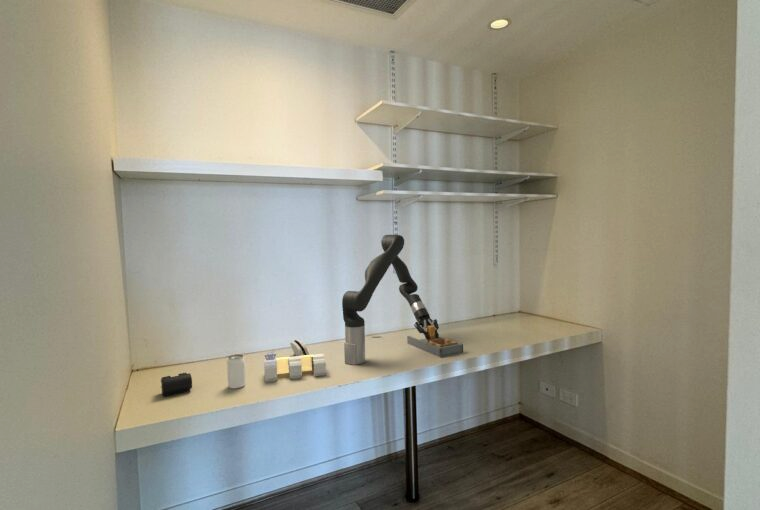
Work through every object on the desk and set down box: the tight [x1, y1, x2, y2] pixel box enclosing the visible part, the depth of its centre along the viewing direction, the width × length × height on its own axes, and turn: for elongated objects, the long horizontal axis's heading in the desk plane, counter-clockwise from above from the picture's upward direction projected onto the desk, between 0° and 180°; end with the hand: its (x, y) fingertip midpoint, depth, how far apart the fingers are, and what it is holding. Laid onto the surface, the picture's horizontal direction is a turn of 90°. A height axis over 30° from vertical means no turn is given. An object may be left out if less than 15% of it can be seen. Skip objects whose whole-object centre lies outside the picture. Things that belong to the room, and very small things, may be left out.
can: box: [226, 354, 246, 390], centre depth 156 cm, size 6×6×12 cm
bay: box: [406, 335, 464, 358], centre depth 204 cm, size 30×14×4 cm, turn 28°
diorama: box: [263, 349, 327, 383], centre depth 167 cm, size 25×10×13 cm, turn 105°
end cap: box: [160, 372, 193, 397], centre depth 151 cm, size 10×7×7 cm
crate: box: [426, 325, 458, 348], centre depth 200 cm, size 17×10×10 cm, turn 28°
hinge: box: [289, 339, 310, 356], centre depth 192 cm, size 17×5×10 cm, turn 29°
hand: (433, 337), depth 204 cm, fingers open, 5 cm apart
